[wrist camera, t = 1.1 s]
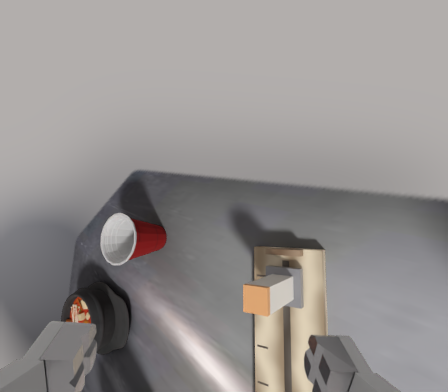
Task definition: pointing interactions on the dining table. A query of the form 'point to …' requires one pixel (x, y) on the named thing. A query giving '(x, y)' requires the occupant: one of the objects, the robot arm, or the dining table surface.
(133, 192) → the dining table surface
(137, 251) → the plastic cup
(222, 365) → the dining table surface
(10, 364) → the robot arm
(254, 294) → the fader handle
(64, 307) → the casserole
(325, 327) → the fader console
